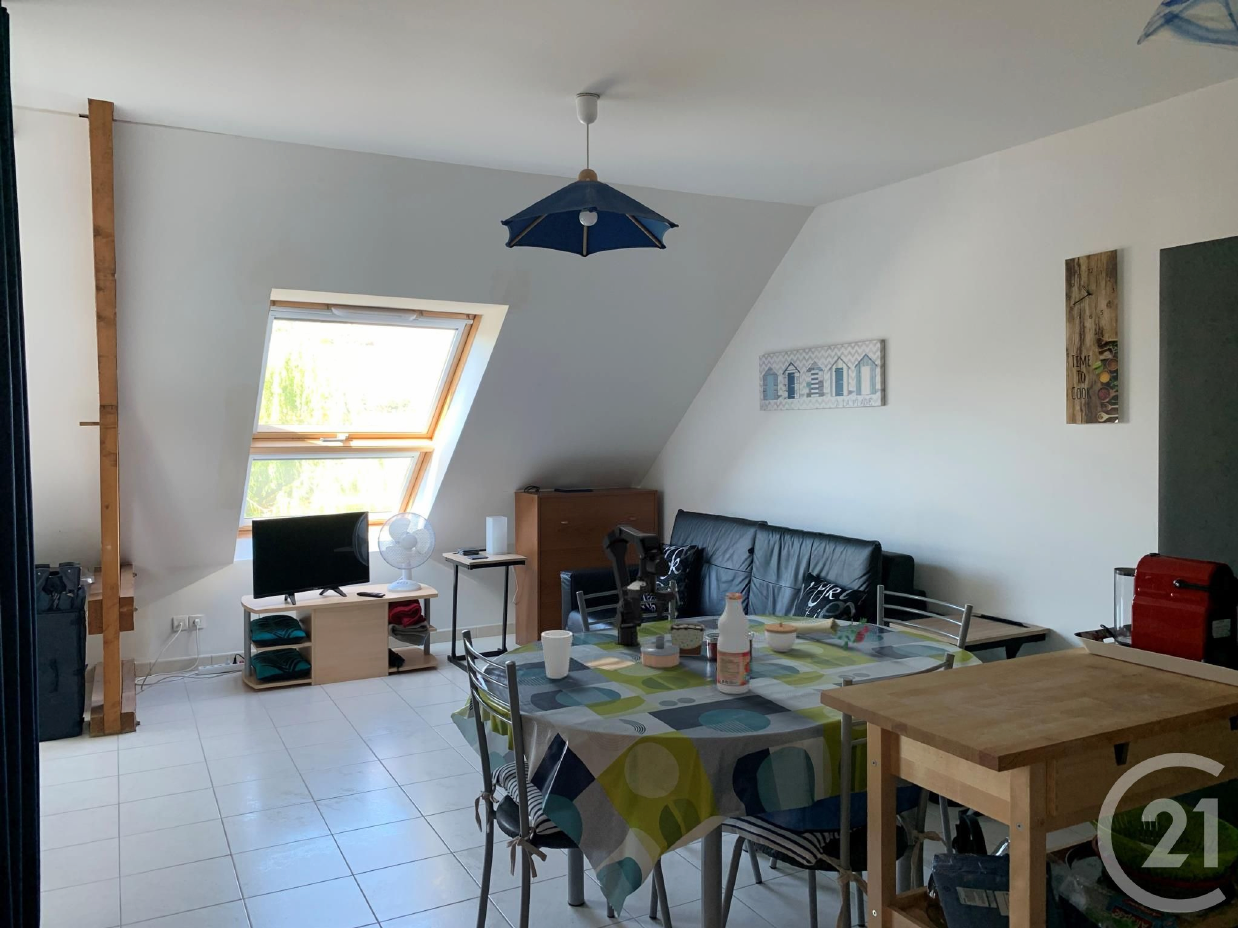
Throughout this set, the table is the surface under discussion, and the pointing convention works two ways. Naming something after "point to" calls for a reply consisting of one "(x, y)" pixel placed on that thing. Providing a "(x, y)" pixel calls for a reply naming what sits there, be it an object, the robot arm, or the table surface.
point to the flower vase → (832, 629)
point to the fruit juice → (733, 648)
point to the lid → (660, 648)
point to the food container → (687, 637)
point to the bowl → (660, 660)
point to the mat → (609, 663)
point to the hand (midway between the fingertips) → (647, 618)
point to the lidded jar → (780, 636)
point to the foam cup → (556, 652)
